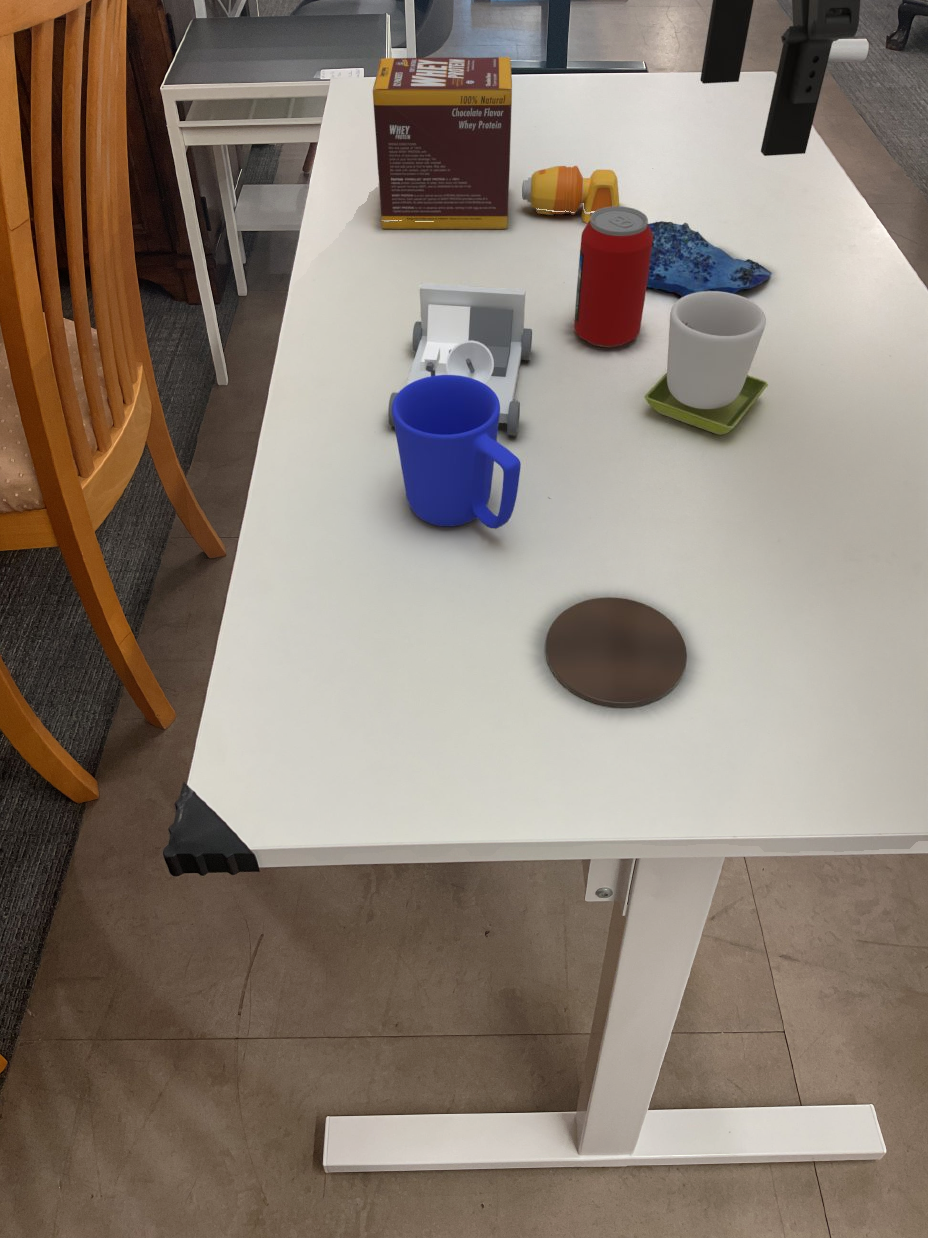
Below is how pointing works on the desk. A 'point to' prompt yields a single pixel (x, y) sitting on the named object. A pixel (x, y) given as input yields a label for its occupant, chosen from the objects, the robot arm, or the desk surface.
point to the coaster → (616, 652)
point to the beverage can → (612, 276)
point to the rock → (696, 263)
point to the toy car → (472, 340)
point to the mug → (453, 451)
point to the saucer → (706, 418)
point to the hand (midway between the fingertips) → (748, 114)
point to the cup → (712, 347)
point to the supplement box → (443, 142)
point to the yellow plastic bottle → (571, 190)
